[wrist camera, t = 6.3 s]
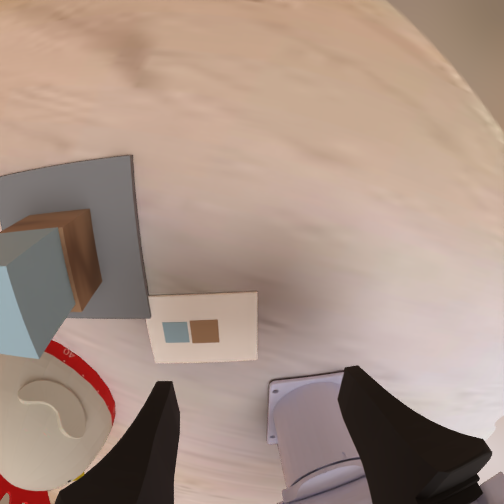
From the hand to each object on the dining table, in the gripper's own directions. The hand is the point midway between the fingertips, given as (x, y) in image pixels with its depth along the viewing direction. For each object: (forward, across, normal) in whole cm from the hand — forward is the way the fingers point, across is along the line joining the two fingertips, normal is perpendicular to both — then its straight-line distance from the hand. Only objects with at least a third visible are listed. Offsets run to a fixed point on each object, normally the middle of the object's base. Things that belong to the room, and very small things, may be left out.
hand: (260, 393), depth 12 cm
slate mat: (+10, +12, -4) cm, 16 cm away
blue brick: (+5, +12, -4) cm, 14 cm away
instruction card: (+10, +3, +4) cm, 11 cm away
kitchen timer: (+10, +19, +11) cm, 24 cm away
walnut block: (+9, +12, -4) cm, 16 cm away
